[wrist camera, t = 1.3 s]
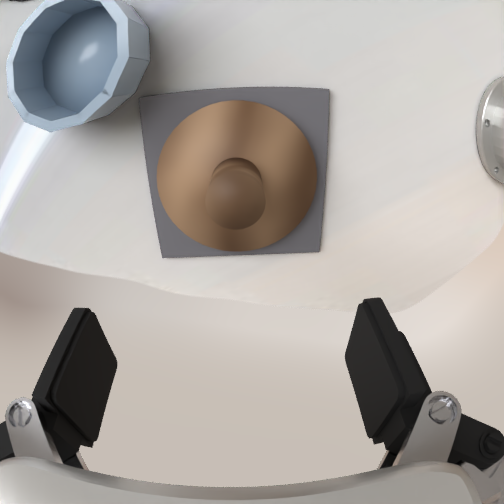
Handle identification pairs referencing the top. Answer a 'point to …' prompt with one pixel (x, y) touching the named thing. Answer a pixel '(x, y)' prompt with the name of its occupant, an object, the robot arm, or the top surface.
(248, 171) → the lid
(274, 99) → the mat
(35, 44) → the bowl
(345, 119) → the top surface
